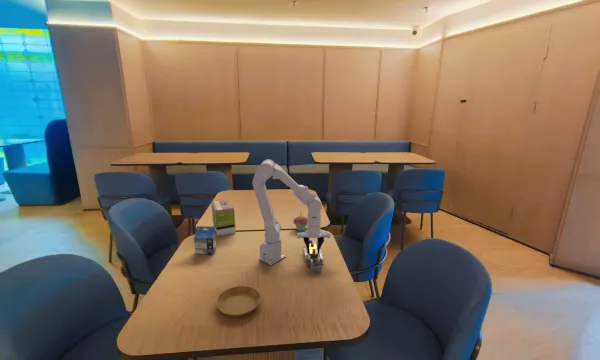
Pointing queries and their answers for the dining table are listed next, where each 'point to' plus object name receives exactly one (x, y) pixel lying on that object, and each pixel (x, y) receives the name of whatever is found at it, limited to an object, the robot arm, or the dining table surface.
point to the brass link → (313, 251)
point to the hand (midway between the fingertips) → (313, 252)
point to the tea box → (223, 217)
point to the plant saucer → (238, 300)
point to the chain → (314, 260)
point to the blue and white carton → (205, 240)
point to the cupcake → (300, 222)
